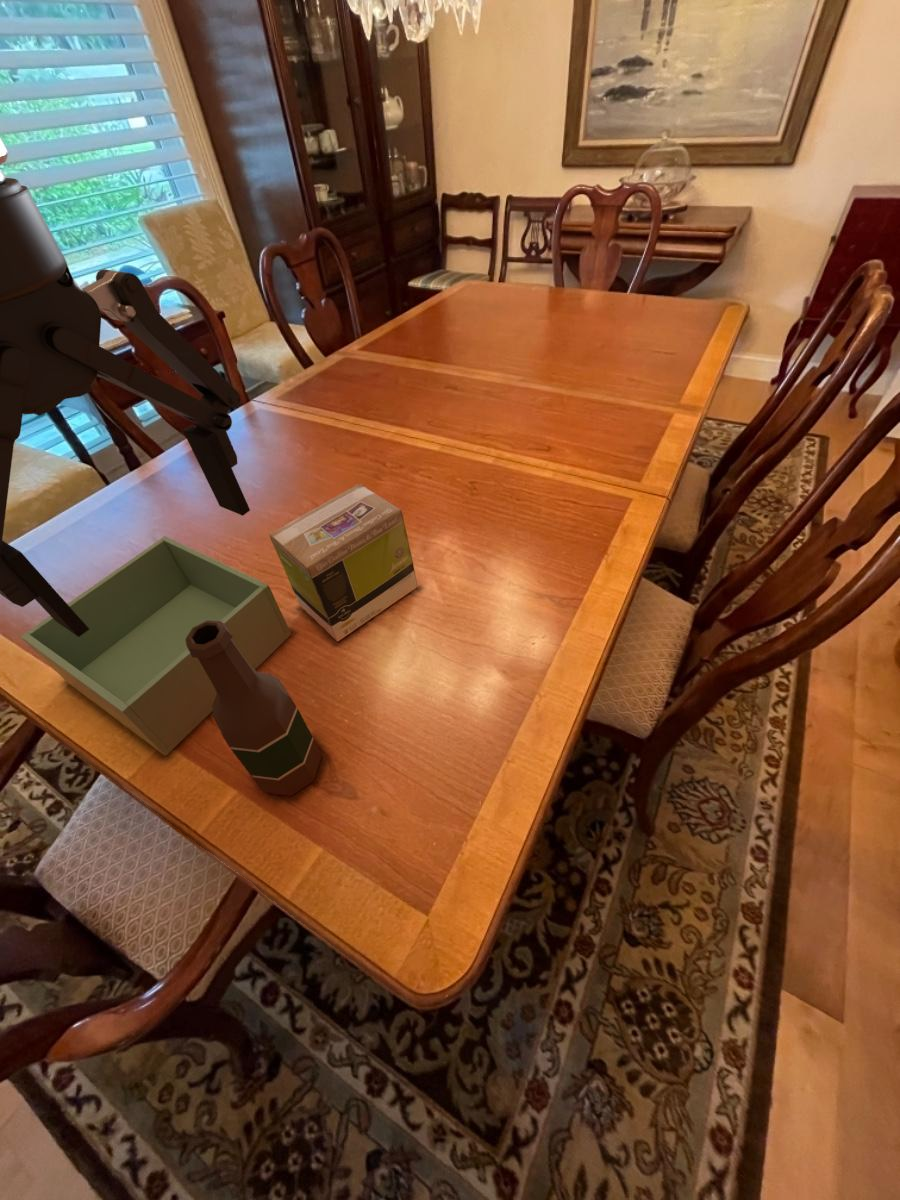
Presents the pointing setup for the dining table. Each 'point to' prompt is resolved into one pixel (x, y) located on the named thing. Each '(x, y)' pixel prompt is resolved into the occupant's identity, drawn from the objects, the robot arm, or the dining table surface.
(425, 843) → the dining table surface
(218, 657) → the beer bottle
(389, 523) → the tea box
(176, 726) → the open storage bin
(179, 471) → the dining table surface
